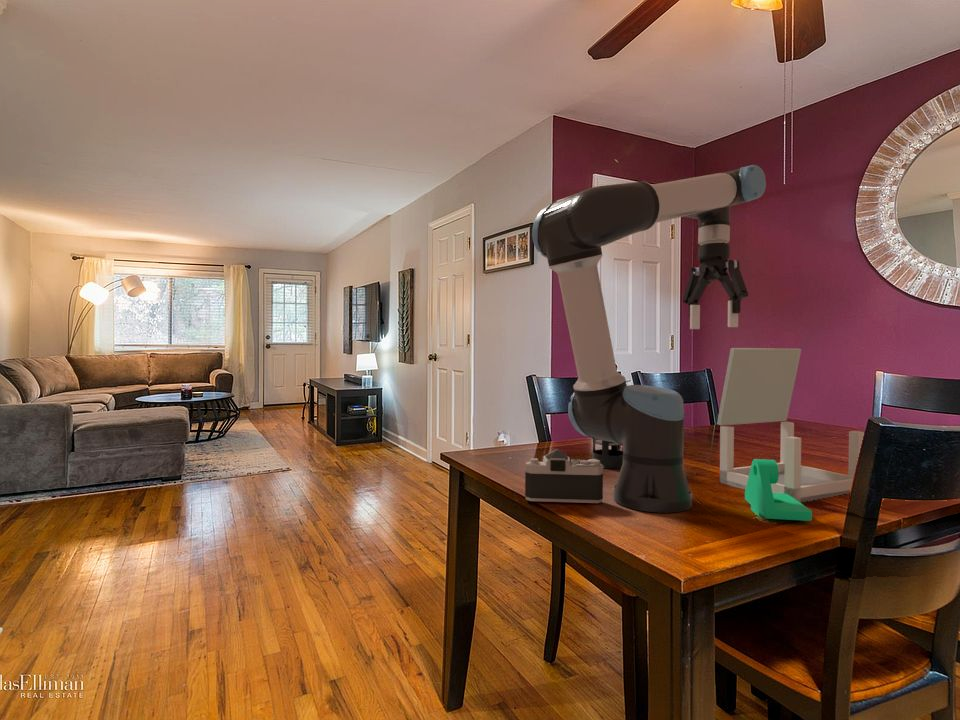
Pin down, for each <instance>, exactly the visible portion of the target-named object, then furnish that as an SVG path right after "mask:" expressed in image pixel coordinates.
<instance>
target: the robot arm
mask: <svg viewBox="0 0 960 720" xmlns="http://www.w3.org/2000/svg"><path fill="white" fill-rule="evenodd" d="M766 187H767V181H766V175H765V172H764V171H763V169H762V168H761V167H760V166H758V165H757V164H751V165H747V166H742V167H740V168H737V169H734V170H733V169H732V170H728V171H723V172H718V173H712V174H706V175H702V176H701V175H700V176H694V177H688V178H684V179H683V178H682V179H677V180H672V181H666V182H660V183H654V184H650V183H649V182H647V181H643V180H640V181H634V182H625V183H615V184H607V185H599V186H593V187H589V188H587V189H583V190H582V191H580V192H577V193H574V194H571V195H569V196H566V197H563V198H561V199H558V200H555V201H553V202H552V203H550V204H549V205H547V206H545V207H543V208H542V209H541V210H540V211H539V212H538V214H537V215H536V217H535V218H534V221H533V224H532V230H531V231H532V232H531V236H532V243H533V244H534V245H533V246H534V247H535V249H536V251H537V252H539V253H540V255H541V256H542V257H545V258H546V259H547V263H548V268H549V269H550V270H551V271H553V272H554V273H556V274H557V277H558V283H559V286H560V292H561V297H562V304H563V309H564V313H565V318H566V323H567V328H568V332H569V338H570V342H571V348H572V353H573V357H574V358H573V359H574V363H575V368H576V373H577V380H576V381H575V383H574V384H573V385H572V388H573V393H572V394H571V396H570V401H569V402H568V406H567V410H568V411H567V412H568V418H569V421H570V423H571V424H572V427H573V428H574V429H575V430H576V431H577V432H578V433H579V434H581V435H583V436H585V437H587V438H590V439H592V440H593V439H595V440H603V441H608V442H613V443H617V444H622V445H621V446H622V449H623V450H622V451H623V464H622V467H621V468H620V471H619V473H618V477H617V480H616V484H615V485H614V489H613V499H614V501H615V503H617V504H619V505H621V506H622V507H625V508H629V509H632V510H635V511H637V510H638V511H641V512H649V513H661V514H663V513H664V514H665V513H666V514H668V513H673V514H674V513H682V512H685V511H688V510H690V509H691V508H692V507H693V493H692V490H691V489H690V485H689V482H688V478H687V474H686V470H685V468H684V444H685V443H684V437H685V436H684V435H685V434H684V433H685V431H684V430H685V416H686V415H685V410H684V409H685V407H684V398H683V397H682V395H681V394H680V393H679V392H677V391H675V390H673V389H670V388H665V387H662V386H661V387H660V386H656V385H655V386H651V385H645V384H631V385H629V384H628V385H627V381H626V379H627V378H626V377H625V376H624V375H623V374H621V373H619V371H618V370H617V369H618V368H617V365H616V359H615V355H614V348H613V343H612V339H611V333H610V327H609V322H608V318H607V312H606V307H605V301H604V296H603V292H602V285H601V280H600V275H599V269H598V265H599V264H598V263H599V262H600V260H601V259H602V258H603V251H602V250H603V249H602V247H604V246H607V245H609V244H612V243H614V242H616V241H620V240H621V239H624V238H626V237H629V236H631V235H634V234H637V233H640V232H644V231H645V232H646V231H647V230H649V229H651V228H653V226H654V225H656V223H661V222H665V221H669V220H675V219H678V218H689V219H693V220H697V221H698V228H697V230H698V231H697V232H698V234H697V244H698V245H699V246H698V248H697V260H698V261H699V263H700V264H699V266H698V267H694V266H693V267H690V269H689V278H688V280H687V284H686V288H685V290H684V294H683V298H682V303H683V304H687V305H688V317H689V330H700V329H701V328H700V327H701V305H700V304H699V301H700V300H701V298H702V296H703V294H704V292H705V291H706V288H707V287H708V285H709V284H710V283H712V282H714V281H719V282H720V284H721V286H722V287H723V289H724V291H725V292H726V293H727V295H728V296H729V298H728V301H727V328H739V314H740V313H741V302H742V301H741V300H742V299H744V298H747V297H749V292H748V290H747V286H746V283H745V281H744V278H743V274H742V272H741V270H740V260H736V259H729V258H730V256H731V254H730V253H731V252H730V251H731V250H730V249H731V245H730V244H729V242H730V238H731V227H730V226H731V223H730V222H731V218H730V217H731V207H733V206H737V205H740V204H744V203H749V202H751V201H754V200H757V199H759V198H761V197H763V195H764V193H765V191H766ZM728 259H729V260H728Z"/></svg>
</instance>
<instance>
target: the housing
mask: <svg viewBox="0 0 960 720" xmlns="http://www.w3.org/2000/svg"><path fill="white" fill-rule="evenodd" d="M719 426H720V427H719V430H720V433H719V483H720V484H724V485H727V486H730V487H734V488H737V489H741V490H743V491H745V489H746V485H747V481H748V477H749V473H750V469H751V465H749V466H739V467H734V466H735V465H734V460H735V459H734V457H735V455H734V454H735V453H734V452H735V451H734V450H735V449H734V447H735V446H734V445H735V443H734V442H735V427H734V426H731V425H719ZM864 432H865V431H859V430H849V431H848V467H847V469H848V472H847V473H848V474H844V473H839V472H834V471H831V470H830V471H829V470H825V469H820V468H816V467H812V466H807V465H803V464H802V437H797V436H795V422H792V421H780V449H779V450H780V453H779V454H780V455H779V456H780V458H779V459H780V461H779V462H776V463H777V465H778V470H779V478H778V482H777V483H776V484H771V488H772V493H783V494H788V495H790V496H791V497H793V498H794V499H795V500H797V501H798V502H800V503H801V504H803V503H807V501H808V502H813V500H815V501H818V499H820V500H823V499H822V498H826V499H829V498H828V497H831V498H834V497H833V496H836V497H839V496H838V495H842V496H844V495H843V494H847V495H850V494H849V493H850V489H851V486H852V482H853V477H854V473H855V469H856V465H857V461H858V457H859V453H860V448H861V444H862V440H863V436H864Z"/></svg>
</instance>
